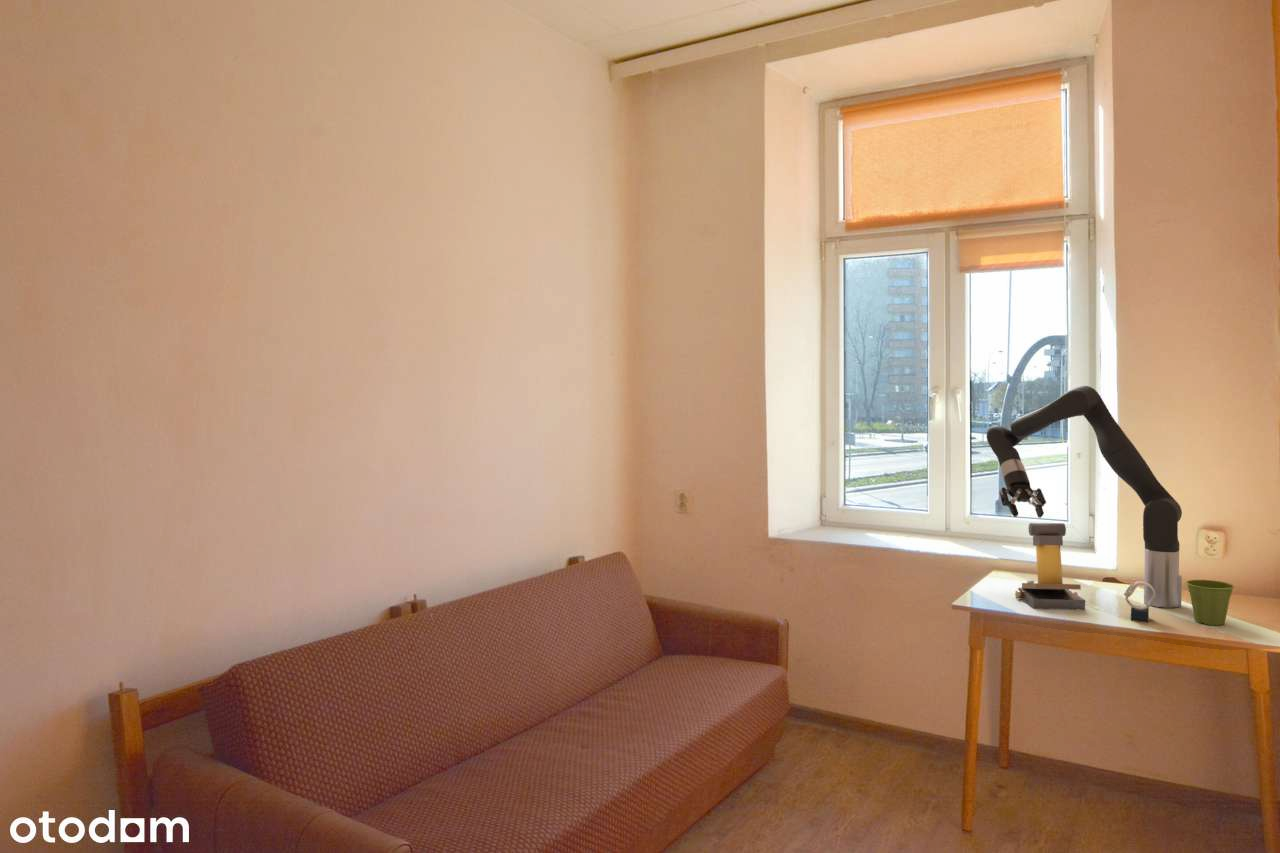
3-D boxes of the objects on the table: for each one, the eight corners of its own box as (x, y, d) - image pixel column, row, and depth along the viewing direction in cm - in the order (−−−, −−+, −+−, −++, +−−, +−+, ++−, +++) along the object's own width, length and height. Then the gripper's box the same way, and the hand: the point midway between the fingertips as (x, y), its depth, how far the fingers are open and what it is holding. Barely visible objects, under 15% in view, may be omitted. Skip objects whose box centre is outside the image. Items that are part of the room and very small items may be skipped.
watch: (1123, 615, 254) (1124, 578, 254) (1155, 618, 250) (1156, 581, 250) (1123, 619, 250) (1123, 582, 249) (1155, 623, 245) (1155, 585, 245)
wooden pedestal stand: (1064, 588, 275) (1060, 524, 278) (1080, 589, 261) (1076, 522, 265) (1022, 587, 277) (1018, 524, 280) (1036, 588, 263) (1032, 521, 266)
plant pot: (1214, 616, 252) (1215, 578, 251) (1244, 627, 240) (1245, 588, 239) (1175, 617, 251) (1176, 579, 251) (1203, 628, 240) (1204, 588, 239)
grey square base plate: (1070, 596, 277) (1070, 587, 277) (1090, 609, 261) (1090, 600, 260) (1011, 595, 279) (1011, 586, 279) (1028, 608, 263) (1028, 598, 263)
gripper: (999, 468, 291) (1013, 509, 281) (1039, 470, 292) (1054, 510, 282) (990, 480, 297) (1003, 521, 287) (1029, 482, 298) (1043, 522, 288)
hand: (1028, 516), depth 285 cm, fingers open, 8 cm apart
